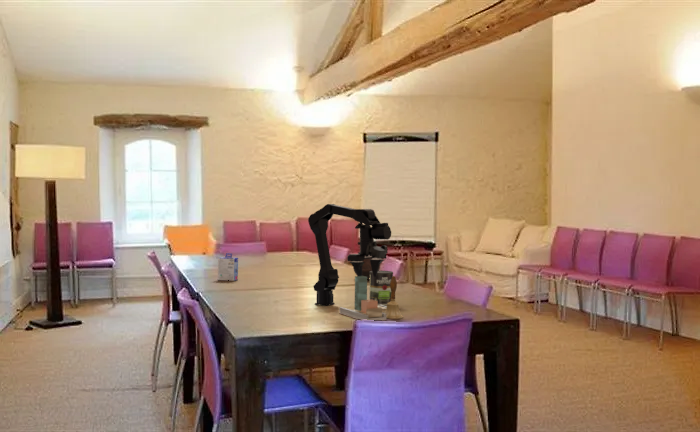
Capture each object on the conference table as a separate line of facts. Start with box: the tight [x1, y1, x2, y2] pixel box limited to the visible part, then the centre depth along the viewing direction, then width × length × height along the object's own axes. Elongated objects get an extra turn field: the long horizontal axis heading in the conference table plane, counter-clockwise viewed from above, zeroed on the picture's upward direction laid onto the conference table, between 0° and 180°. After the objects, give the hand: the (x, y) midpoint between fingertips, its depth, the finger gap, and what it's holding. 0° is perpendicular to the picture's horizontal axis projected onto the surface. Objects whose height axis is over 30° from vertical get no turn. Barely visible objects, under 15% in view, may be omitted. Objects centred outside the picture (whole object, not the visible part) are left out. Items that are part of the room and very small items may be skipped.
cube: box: [361, 299, 379, 313], centre depth 260 cm, size 4×4×4 cm
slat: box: [352, 275, 382, 318], centre depth 262 cm, size 12×6×14 cm, turn 30°
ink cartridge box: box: [217, 252, 239, 282], centre depth 368 cm, size 10×6×14 cm, turn 77°
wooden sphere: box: [352, 255, 381, 280], centre depth 379 cm, size 15×15×15 cm
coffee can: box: [368, 270, 394, 306], centre depth 296 cm, size 10×10×14 cm
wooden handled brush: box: [385, 275, 404, 320], centre depth 265 cm, size 8×8×16 cm
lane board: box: [338, 305, 387, 321], centre depth 267 cm, size 20×19×2 cm
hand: (367, 277), depth 278 cm, fingers open, 9 cm apart
